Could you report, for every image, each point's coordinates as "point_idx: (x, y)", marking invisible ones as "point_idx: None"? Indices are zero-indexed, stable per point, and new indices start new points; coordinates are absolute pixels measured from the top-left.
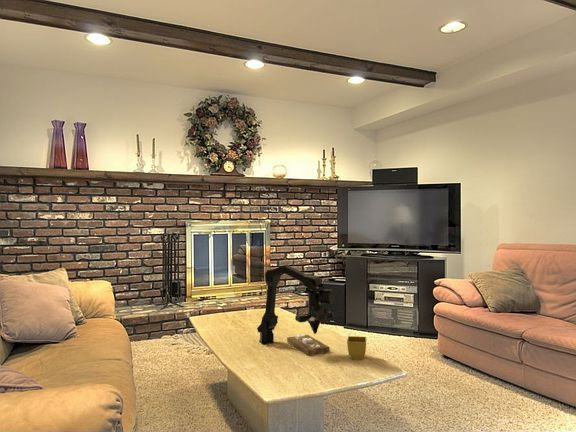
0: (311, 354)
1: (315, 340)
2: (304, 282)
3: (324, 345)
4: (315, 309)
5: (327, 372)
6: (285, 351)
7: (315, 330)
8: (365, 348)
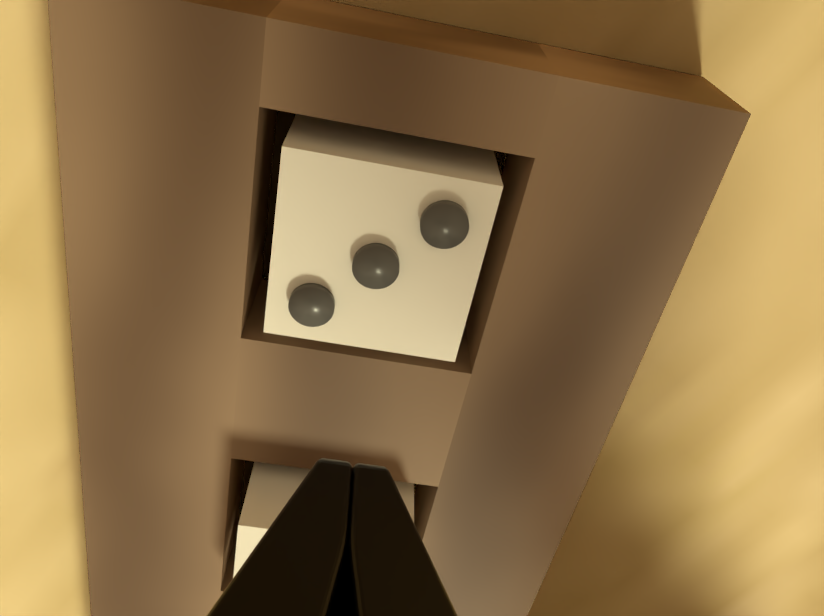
0: (613, 62)
1: (129, 527)
2: None
3: (120, 171)
4: None
5: None
6: (774, 497)
7: (359, 570)
8: None
